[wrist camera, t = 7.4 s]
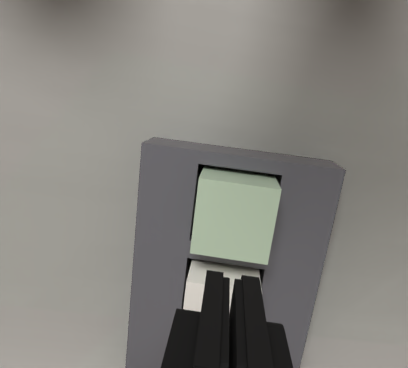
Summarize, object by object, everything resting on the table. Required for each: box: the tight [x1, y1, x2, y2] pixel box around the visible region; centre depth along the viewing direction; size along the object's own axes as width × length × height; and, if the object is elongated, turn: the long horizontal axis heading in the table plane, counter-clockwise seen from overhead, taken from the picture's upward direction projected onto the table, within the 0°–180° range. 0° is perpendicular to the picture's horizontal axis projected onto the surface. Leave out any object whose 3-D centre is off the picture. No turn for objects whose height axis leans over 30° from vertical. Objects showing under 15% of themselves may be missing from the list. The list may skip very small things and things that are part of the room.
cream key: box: [183, 259, 262, 313], centre depth 22 cm, size 4×4×4 cm
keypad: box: [126, 137, 346, 368], centre depth 24 cm, size 19×12×3 cm, turn 173°
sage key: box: [190, 165, 282, 265], centre depth 20 cm, size 4×4×4 cm
